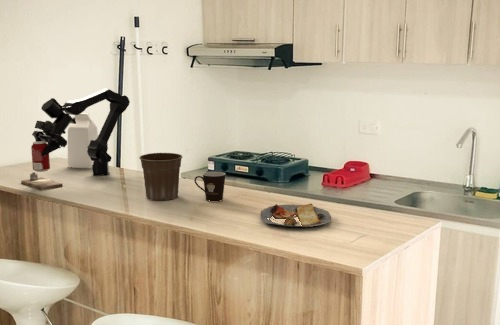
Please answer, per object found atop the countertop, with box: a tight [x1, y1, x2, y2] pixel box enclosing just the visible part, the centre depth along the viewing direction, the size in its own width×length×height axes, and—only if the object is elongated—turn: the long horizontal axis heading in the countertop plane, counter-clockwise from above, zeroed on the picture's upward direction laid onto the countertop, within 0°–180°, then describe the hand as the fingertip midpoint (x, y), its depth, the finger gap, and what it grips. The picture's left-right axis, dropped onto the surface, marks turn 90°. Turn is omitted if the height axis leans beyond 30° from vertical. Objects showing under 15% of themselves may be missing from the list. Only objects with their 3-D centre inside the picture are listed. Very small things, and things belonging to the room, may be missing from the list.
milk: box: [67, 112, 99, 169], centre depth 275 cm, size 12×12×26 cm
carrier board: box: [20, 171, 64, 191], centre depth 235 cm, size 18×9×4 cm, turn 48°
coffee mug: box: [193, 171, 227, 202], centre depth 213 cm, size 12×9×10 cm
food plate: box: [260, 203, 333, 228], centre depth 187 cm, size 25×23×4 cm
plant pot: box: [139, 152, 183, 202], centre depth 214 cm, size 16×16×16 cm
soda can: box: [30, 141, 51, 173], centre depth 232 cm, size 7×7×12 cm
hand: (37, 154), depth 231 cm, fingers closed on soda can, 7 cm apart
